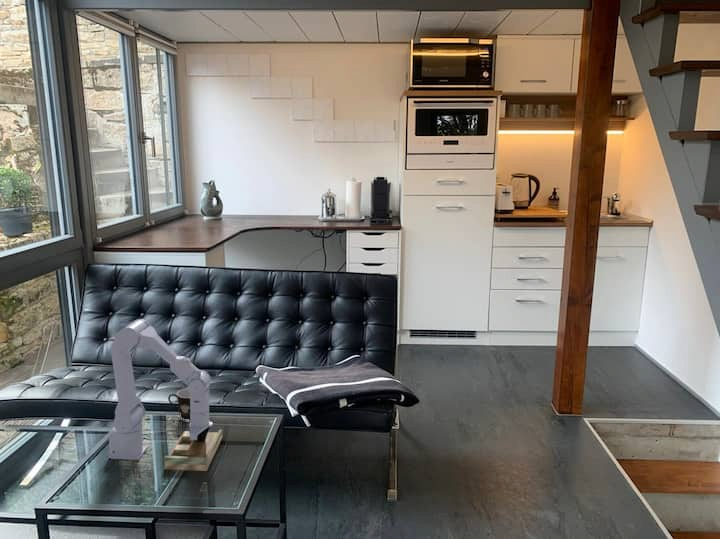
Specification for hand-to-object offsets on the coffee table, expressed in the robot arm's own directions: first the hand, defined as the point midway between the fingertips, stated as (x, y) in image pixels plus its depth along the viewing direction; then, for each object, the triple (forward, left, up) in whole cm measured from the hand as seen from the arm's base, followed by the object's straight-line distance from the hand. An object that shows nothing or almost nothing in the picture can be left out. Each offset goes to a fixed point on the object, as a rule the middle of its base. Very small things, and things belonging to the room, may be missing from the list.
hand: (200, 449), depth 174 cm
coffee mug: (-13, +27, -3) cm, 30 cm away
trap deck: (-3, +3, -3) cm, 5 cm away
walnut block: (0, -4, -1) cm, 4 cm away
